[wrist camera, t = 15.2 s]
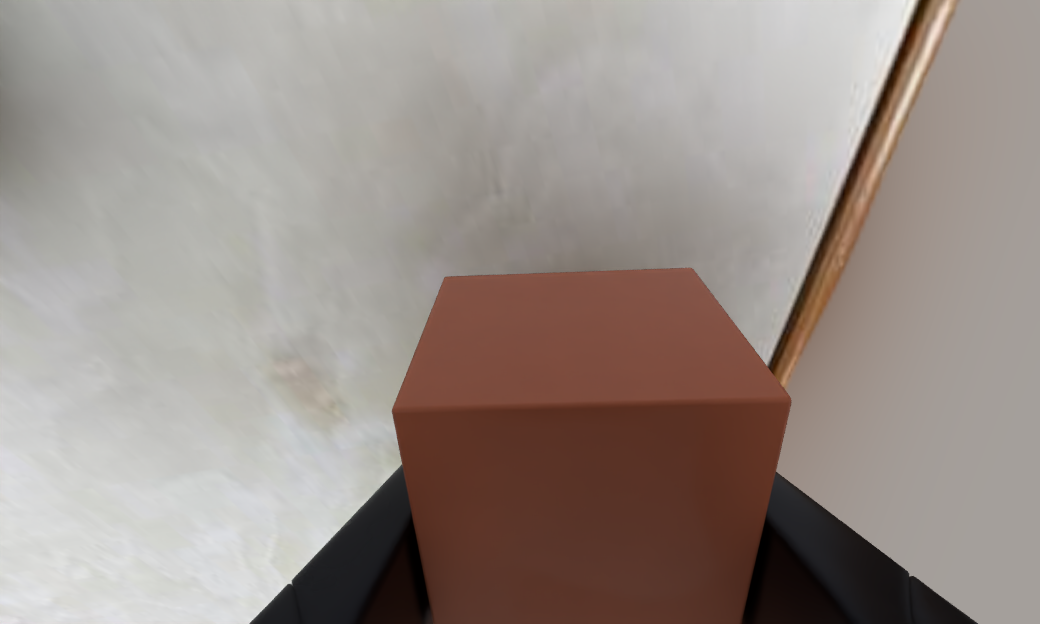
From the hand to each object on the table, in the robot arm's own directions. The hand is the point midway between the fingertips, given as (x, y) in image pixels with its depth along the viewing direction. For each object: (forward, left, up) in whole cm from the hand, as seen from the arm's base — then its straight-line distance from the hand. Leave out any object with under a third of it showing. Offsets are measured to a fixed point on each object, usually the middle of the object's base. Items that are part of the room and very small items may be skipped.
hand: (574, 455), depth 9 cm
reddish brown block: (0, 0, -2) cm, 2 cm away
